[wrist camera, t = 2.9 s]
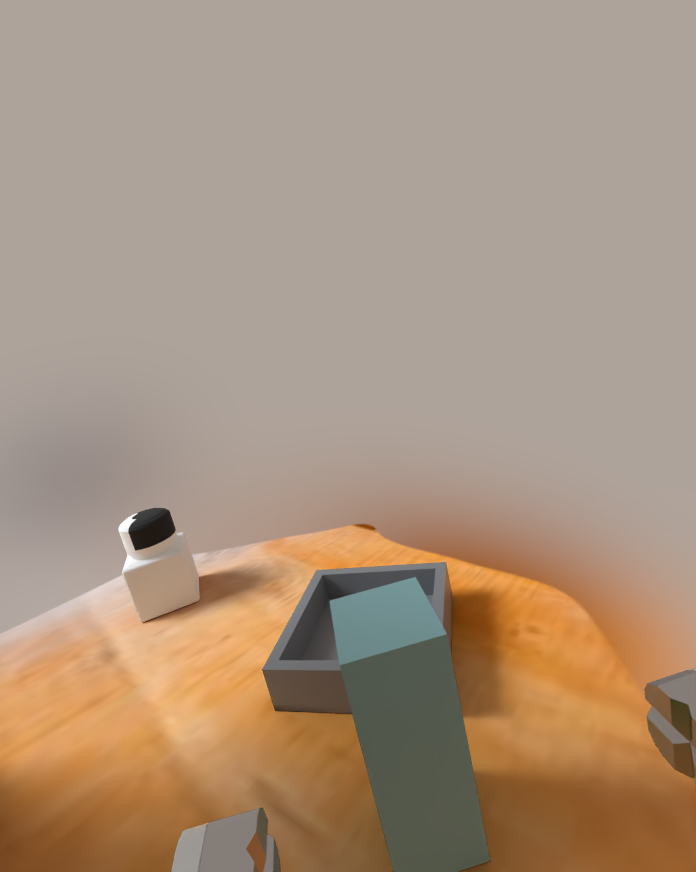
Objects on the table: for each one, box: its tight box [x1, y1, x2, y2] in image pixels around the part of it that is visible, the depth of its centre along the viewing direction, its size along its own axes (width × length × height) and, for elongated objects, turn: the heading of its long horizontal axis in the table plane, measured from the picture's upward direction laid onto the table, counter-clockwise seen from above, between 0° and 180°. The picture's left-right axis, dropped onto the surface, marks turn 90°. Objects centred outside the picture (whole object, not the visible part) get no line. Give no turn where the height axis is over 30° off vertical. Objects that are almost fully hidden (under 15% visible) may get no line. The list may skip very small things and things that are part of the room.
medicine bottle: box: [118, 508, 200, 622], centre depth 55 cm, size 7×7×12 cm
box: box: [262, 562, 452, 714], centre depth 39 cm, size 14×14×4 cm
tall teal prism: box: [329, 577, 490, 872], centre depth 23 cm, size 5×5×14 cm
